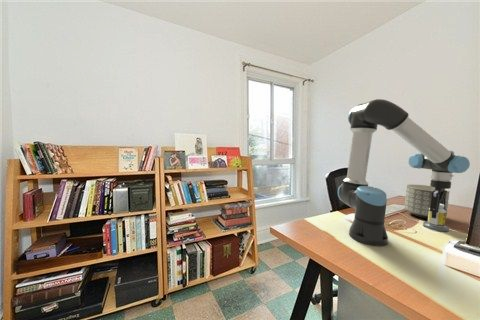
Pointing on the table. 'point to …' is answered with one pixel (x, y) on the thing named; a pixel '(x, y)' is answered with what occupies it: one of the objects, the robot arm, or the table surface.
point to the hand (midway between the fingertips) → (436, 222)
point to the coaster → (440, 229)
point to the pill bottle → (439, 216)
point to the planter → (420, 200)
